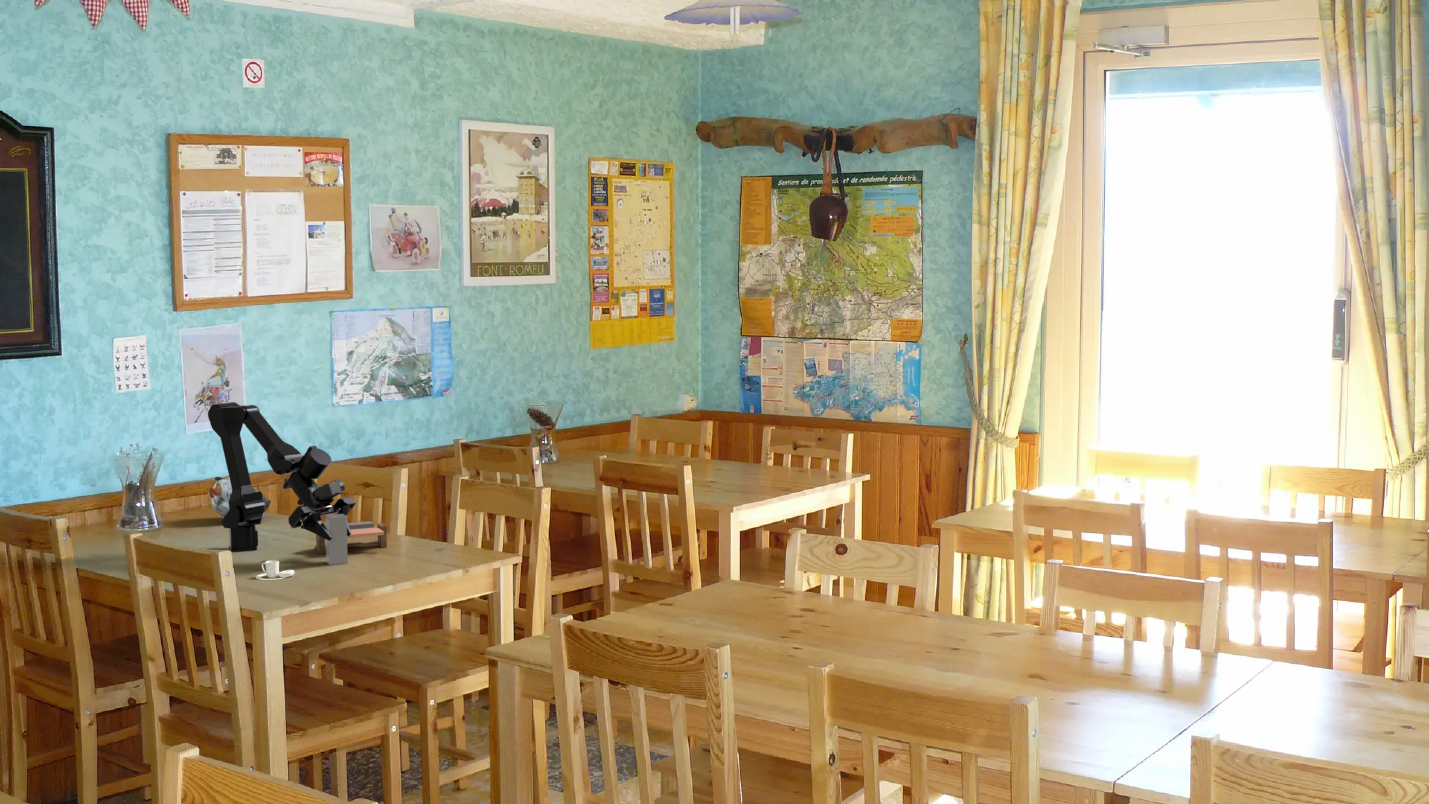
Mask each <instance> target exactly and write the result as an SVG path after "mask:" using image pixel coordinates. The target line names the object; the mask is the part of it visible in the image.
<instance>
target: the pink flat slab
mask: <svg viewBox="0 0 1429 804" xmlns="http://www.w3.org/2000/svg"><path fill="white" fill-rule="evenodd" d="M348 523H349V527H350V531H351V535H350V536H347V539H352V538H362V537H374V536H377V537H378V535H384V532H383V531H382V530H381V529H379V528H378V526H375V523H374V522H373V521H369V520H368V521H358V522H357V521H356V522H348Z"/></svg>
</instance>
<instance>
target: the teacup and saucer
mask: <svg viewBox="0 0 1429 804" xmlns="http://www.w3.org/2000/svg"><path fill="white" fill-rule="evenodd" d="M264 565H265V568H264ZM261 568H262V570H263V572H264V573H260V574H258V575H256V576H255V579H256V580H259V581H275V580H282V579H283V580H284V579H286V578H289V577H292V576H293V575H294V574H295V570H293V569H287V570H283V571H280V561H279V560H273V559H272V560H271V559H270V560H267V561H266V560H265V562H263V563H261ZM264 576H267V577H268V578H262V577H264ZM278 576H279V577H278ZM277 577H278V578H277Z"/></svg>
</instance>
